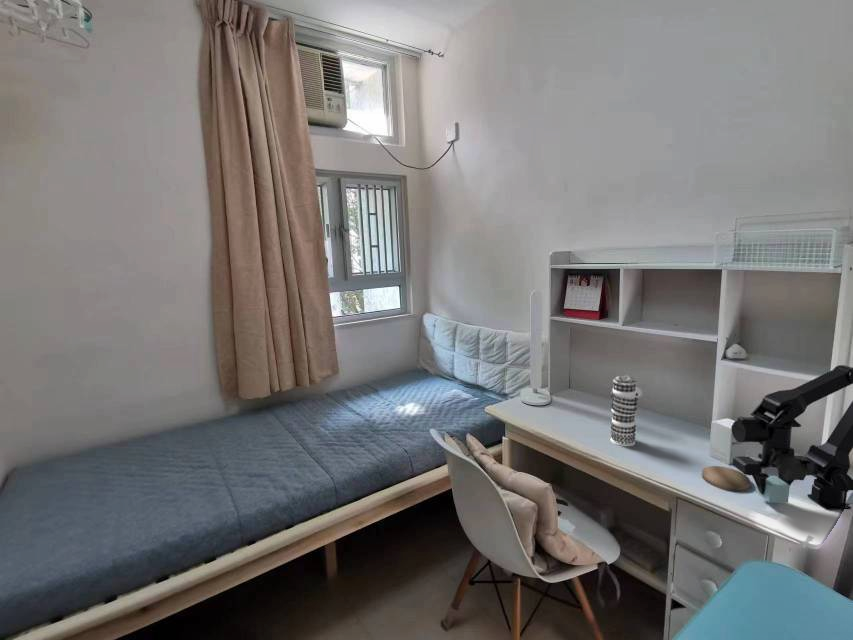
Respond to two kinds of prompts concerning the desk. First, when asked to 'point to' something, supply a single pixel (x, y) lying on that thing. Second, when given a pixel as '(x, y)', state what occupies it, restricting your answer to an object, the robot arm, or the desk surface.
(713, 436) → the supplement box
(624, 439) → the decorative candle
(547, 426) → the desk surface
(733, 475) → the walnut base
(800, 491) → the desk surface
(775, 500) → the teal block
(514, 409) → the desk surface
